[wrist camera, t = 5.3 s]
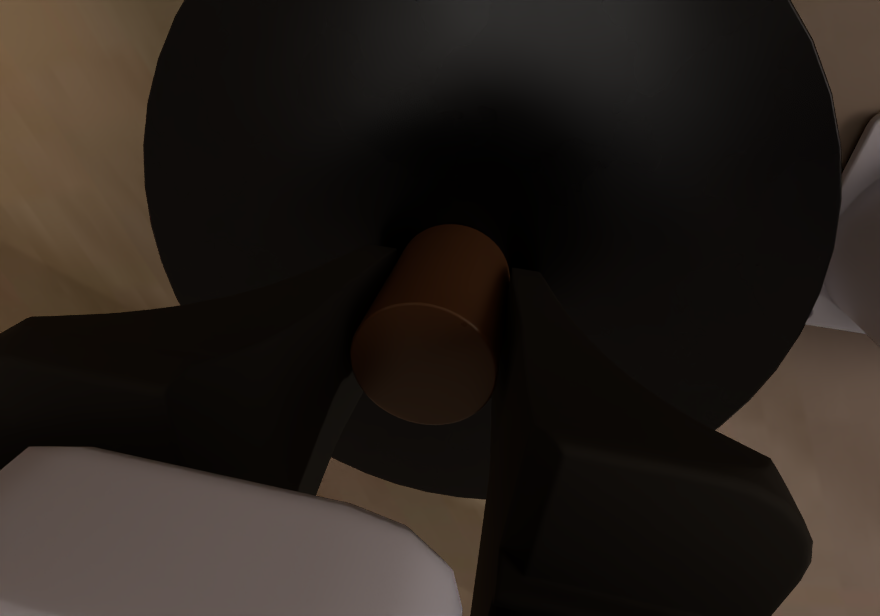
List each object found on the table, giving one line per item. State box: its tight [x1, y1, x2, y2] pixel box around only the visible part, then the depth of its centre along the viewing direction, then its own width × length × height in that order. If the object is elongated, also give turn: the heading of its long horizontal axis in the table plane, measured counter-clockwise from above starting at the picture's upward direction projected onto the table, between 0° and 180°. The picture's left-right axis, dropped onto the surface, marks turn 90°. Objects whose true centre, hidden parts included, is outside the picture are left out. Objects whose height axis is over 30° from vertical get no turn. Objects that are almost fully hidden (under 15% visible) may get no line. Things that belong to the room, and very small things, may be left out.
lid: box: [143, 0, 842, 499], centre depth 10 cm, size 15×15×5 cm
